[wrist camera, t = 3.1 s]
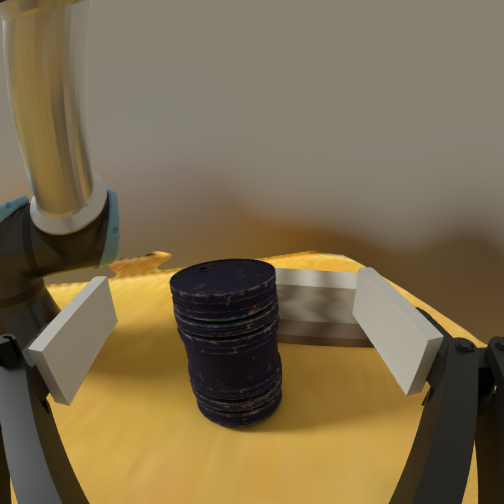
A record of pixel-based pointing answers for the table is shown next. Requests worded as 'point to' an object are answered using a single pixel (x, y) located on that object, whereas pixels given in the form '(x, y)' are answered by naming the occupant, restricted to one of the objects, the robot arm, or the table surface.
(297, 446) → the table surface
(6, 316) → the robot arm
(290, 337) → the ridge stand
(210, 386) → the storage jar
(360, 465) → the table surface
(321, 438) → the table surface
